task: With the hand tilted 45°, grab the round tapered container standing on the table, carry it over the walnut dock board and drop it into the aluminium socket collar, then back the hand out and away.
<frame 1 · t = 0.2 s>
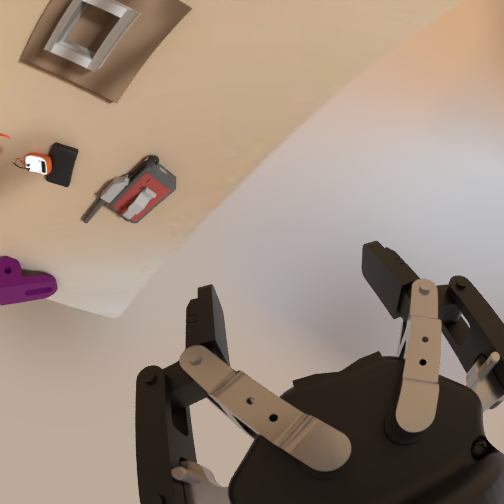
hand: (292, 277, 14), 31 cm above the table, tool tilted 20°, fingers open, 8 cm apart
mounting bracket: (29, 272, 52), on the table
multimeter: (31, 159, 32), on the table
walkie-talkie: (128, 194, 43), on the table
dock board: (99, 26, 20), on the table
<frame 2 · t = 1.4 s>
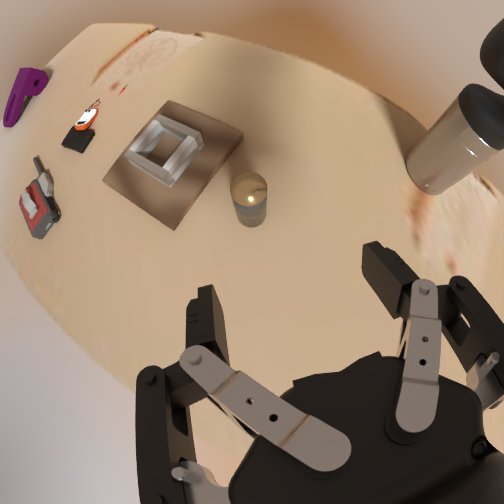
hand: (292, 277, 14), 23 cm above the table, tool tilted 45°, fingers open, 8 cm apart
mounting bracket: (26, 104, 47), on the table
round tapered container: (251, 213, 38), on the table
multimeter: (93, 115, 44), on the table
walkie-talkie: (40, 197, 41), on the table
dock board: (170, 159, 40), on the table
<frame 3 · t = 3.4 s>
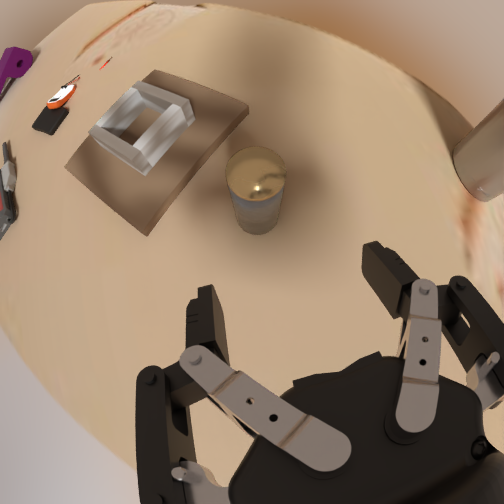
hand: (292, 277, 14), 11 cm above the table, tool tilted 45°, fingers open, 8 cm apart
mounting bracket: (9, 87, 36), on the table
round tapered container: (257, 214, 26), on the table
multimeter: (71, 92, 33), on the table
walkie-talkie: (3, 191, 29), on the table
dock board: (150, 139, 28), on the table
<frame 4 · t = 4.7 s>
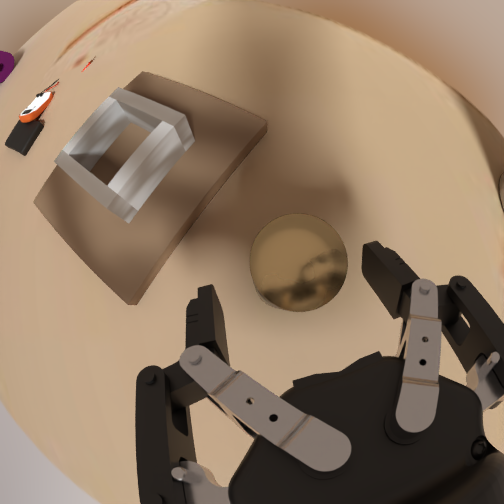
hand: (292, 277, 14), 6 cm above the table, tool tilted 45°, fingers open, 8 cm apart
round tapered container: (282, 280, 20), on the table
multimeter: (49, 101, 26), on the table
dock board: (135, 166, 22), on the table
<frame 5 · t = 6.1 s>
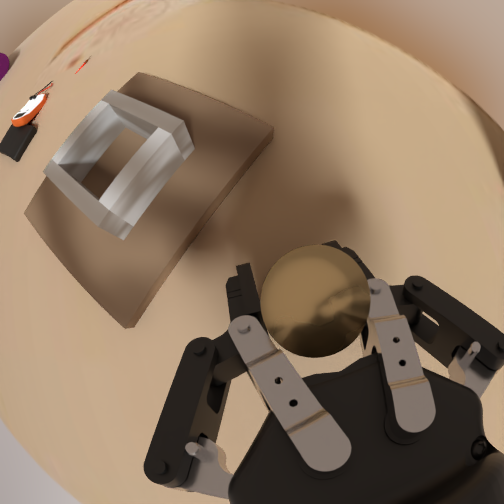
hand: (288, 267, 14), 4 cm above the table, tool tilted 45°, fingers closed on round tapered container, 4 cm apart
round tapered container: (289, 303, 18), on the table, touching gripper
multimeter: (42, 103, 24), on the table
dock board: (130, 176, 20), on the table
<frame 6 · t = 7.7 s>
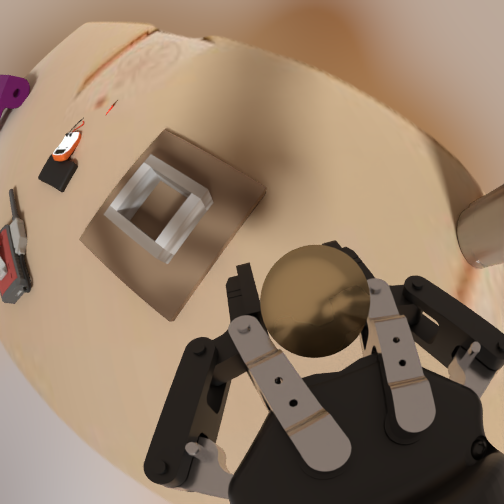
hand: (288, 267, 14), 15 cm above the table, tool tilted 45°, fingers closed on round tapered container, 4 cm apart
mounting bracket: (6, 117, 38), on the table
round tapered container: (289, 303, 18), point 11 cm above the table, touching gripper
multimeter: (76, 139, 35), on the table
walkie-talkie: (14, 246, 31), on the table
dock board: (166, 217, 31), on the table
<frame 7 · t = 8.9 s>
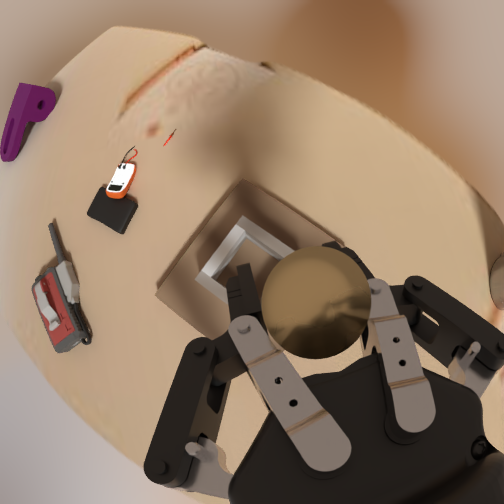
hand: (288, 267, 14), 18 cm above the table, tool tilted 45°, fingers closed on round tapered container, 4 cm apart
mounting bracket: (29, 130, 40), on the table
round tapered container: (290, 304, 18), point 14 cm above the table, touching gripper
multimeter: (129, 170, 37), on the table
walkie-talkie: (61, 289, 34), on the table
dock board: (252, 275, 32), on the table
when the fingers open (7 cm above the table, at t = 12.2 s): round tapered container drops 1 cm, resting on dock board.
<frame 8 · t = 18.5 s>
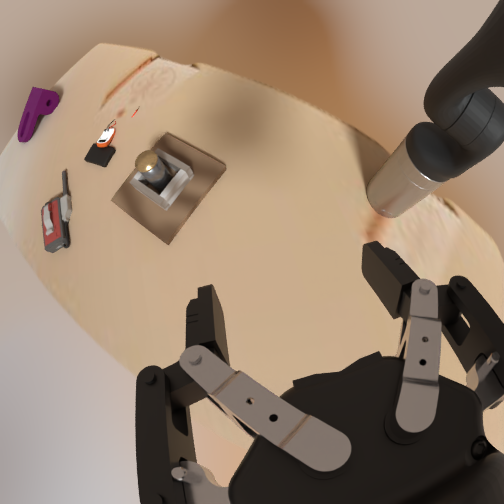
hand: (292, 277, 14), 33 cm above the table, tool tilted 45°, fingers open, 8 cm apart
mounting bracket: (39, 121, 58), on the table
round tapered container: (164, 182, 49), point 2 cm above the table, touching dock board
multimeter: (111, 133, 55), on the table
walkie-talkie: (60, 213, 51), on the table
dock board: (166, 185, 50), on the table
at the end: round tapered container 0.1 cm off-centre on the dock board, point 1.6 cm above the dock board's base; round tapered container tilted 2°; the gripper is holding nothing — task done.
